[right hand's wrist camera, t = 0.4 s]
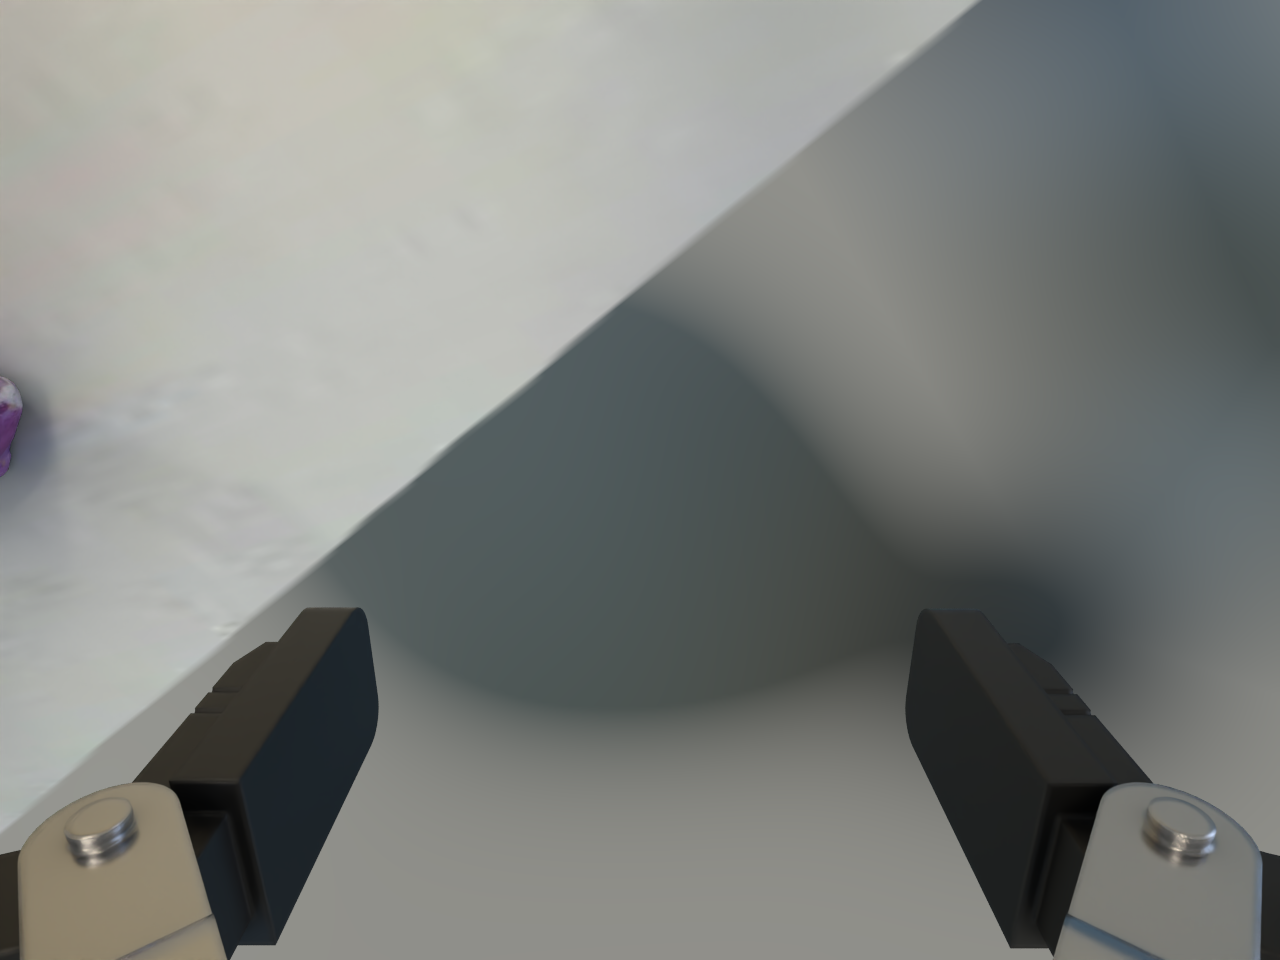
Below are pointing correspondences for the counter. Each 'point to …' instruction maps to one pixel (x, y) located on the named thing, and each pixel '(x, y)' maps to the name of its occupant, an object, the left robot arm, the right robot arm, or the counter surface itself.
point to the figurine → (8, 419)
